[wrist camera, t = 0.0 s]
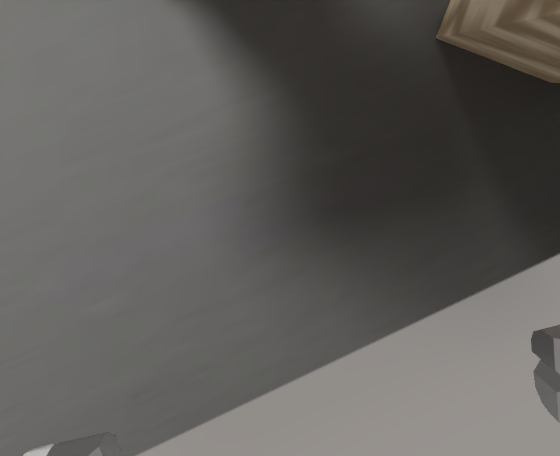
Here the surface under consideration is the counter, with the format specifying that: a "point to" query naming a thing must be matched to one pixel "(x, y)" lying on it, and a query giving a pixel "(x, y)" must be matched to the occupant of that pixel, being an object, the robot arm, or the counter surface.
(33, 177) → the counter surface
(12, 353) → the counter surface
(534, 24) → the oak pedestal
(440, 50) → the counter surface
